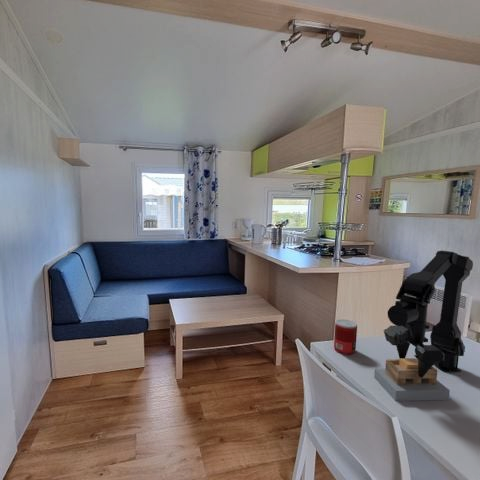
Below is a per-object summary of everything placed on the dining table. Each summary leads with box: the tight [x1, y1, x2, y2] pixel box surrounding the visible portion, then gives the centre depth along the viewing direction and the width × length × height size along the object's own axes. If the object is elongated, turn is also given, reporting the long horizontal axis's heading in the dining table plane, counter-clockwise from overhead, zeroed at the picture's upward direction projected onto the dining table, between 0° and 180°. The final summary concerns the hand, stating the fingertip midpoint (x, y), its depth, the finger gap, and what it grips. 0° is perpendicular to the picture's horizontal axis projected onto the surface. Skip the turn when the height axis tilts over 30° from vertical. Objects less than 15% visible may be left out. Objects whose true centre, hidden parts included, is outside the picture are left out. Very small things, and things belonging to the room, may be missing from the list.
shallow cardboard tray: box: [384, 358, 438, 385], centre depth 92 cm, size 12×7×4 cm, turn 93°
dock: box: [373, 368, 451, 402], centre depth 92 cm, size 16×12×3 cm
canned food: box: [333, 318, 358, 355], centre depth 116 cm, size 8×8×11 cm
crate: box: [399, 357, 418, 369], centre depth 91 cm, size 5×4×2 cm
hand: (410, 368), depth 91 cm, fingers open, 9 cm apart
